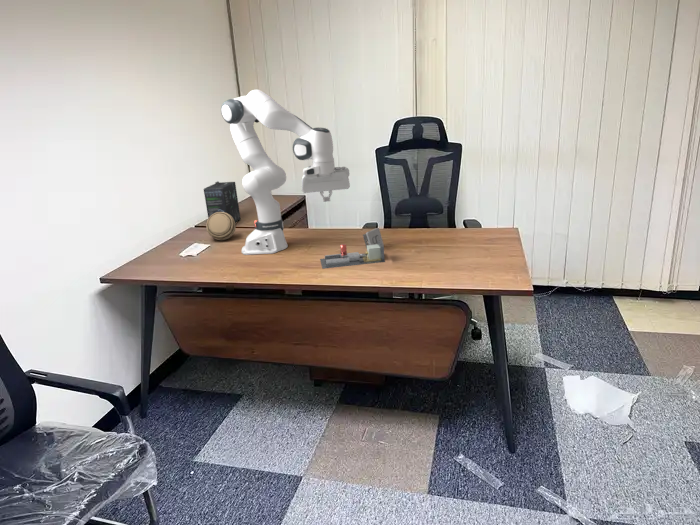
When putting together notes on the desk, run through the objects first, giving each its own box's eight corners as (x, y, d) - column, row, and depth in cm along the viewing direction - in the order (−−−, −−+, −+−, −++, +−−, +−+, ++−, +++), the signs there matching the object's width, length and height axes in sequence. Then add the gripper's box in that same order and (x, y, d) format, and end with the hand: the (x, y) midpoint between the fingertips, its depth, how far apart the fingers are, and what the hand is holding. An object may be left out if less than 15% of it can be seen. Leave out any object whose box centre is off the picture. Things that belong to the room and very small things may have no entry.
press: (322, 270, 202) (321, 255, 200) (320, 261, 214) (318, 246, 212) (385, 264, 205) (384, 248, 203) (379, 254, 217) (378, 239, 215)
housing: (366, 260, 208) (366, 249, 206) (365, 256, 213) (364, 245, 211) (380, 258, 208) (380, 247, 207) (378, 255, 213) (378, 244, 212)
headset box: (222, 220, 300) (216, 178, 292) (241, 219, 299) (235, 177, 290) (209, 230, 279) (201, 185, 271) (229, 229, 278) (222, 184, 269)
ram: (341, 262, 208) (340, 246, 205) (340, 260, 210) (339, 244, 208) (366, 259, 209) (365, 243, 206) (365, 257, 211) (364, 241, 209)
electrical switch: (372, 252, 221) (370, 232, 219) (363, 251, 225) (361, 232, 222) (384, 246, 228) (382, 227, 226) (375, 246, 231) (373, 227, 229)
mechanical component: (203, 241, 258) (198, 213, 253) (226, 234, 268) (222, 207, 263) (219, 245, 248) (215, 217, 244) (243, 237, 259) (239, 210, 254)
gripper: (347, 165, 203) (350, 197, 208) (299, 169, 201) (302, 202, 205) (349, 167, 197) (352, 200, 202) (300, 171, 195) (303, 205, 200)
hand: (326, 201), depth 204 cm, fingers closed
